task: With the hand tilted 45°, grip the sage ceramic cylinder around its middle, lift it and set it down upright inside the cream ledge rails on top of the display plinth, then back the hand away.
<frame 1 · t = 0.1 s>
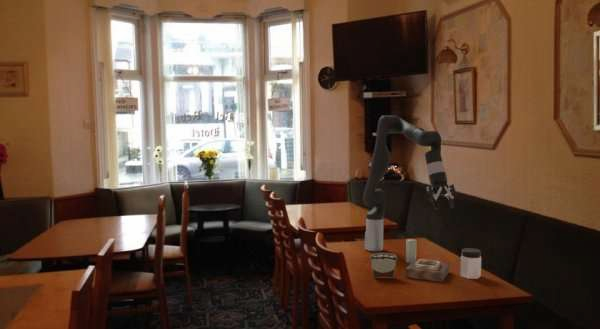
hand: (444, 208, 225), 31 cm above the table, tool tilted 20°, fingers open, 8 cm apart
display plinth: (427, 274, 233), on the table
food container: (383, 276, 231), on the table
jar: (470, 276, 230), on the table
sage cylinder: (411, 261, 254), on the table
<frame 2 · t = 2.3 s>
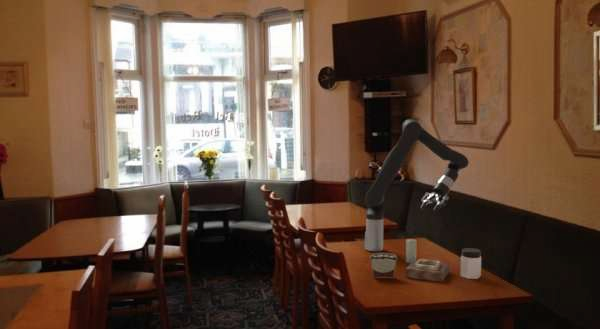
hand: (427, 210, 258), 25 cm above the table, tool tilted 45°, fingers open, 8 cm apart
nothing on the table moved.
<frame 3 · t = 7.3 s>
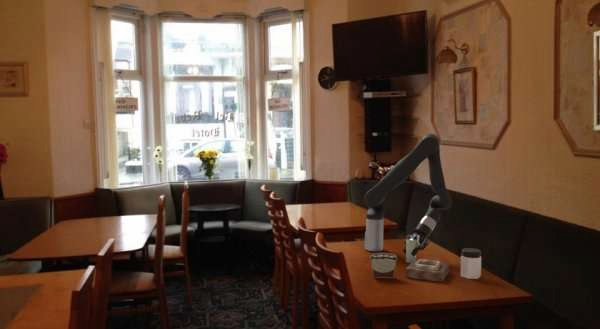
hand: (408, 253, 252), 4 cm above the table, tool tilted 45°, fingers closed on sage cylinder, 5 cm apart
sage cylinder: (411, 261, 254), on the table, touching gripper
everything else where it was.
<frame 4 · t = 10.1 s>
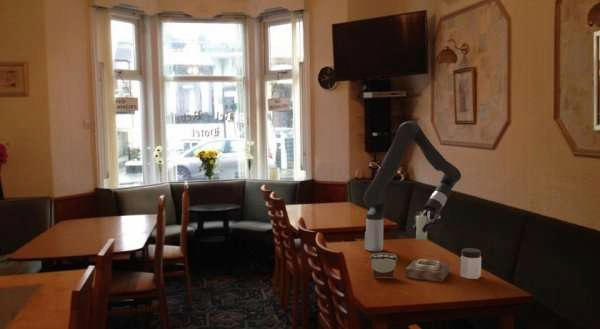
hand: (418, 230, 240), 19 cm above the table, tool tilted 45°, fingers closed on sage cylinder, 5 cm apart
sage cylinder: (421, 239, 242), point 14 cm above the table, touching gripper
everything else where it was.
when the fingers open (10 cm above the table, at t = 13.2 s): sage cylinder drops 1 cm, resting on display plinth.
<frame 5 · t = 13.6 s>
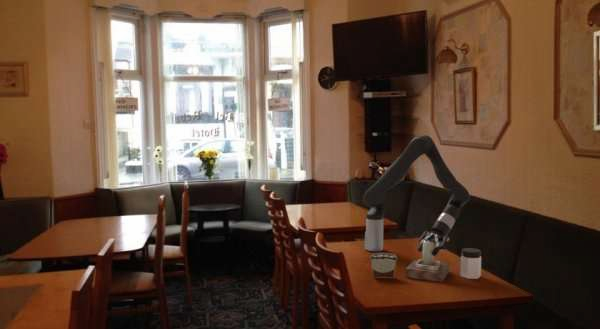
hand: (425, 252, 231), 10 cm above the table, tool tilted 45°, fingers open, 8 cm apart
sage cylinder: (427, 265, 232), point 4 cm above the table, touching display plinth
everything else where it was.
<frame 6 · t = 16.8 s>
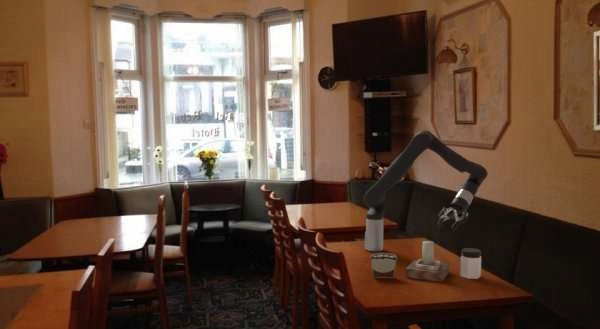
hand: (445, 227, 237), 20 cm above the table, tool tilted 45°, fingers open, 8 cm apart
nothing on the table moved.
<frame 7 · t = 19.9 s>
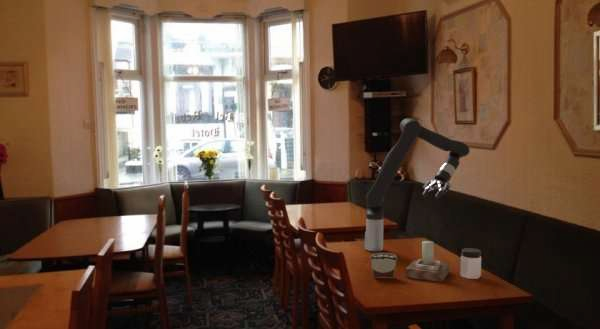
hand: (429, 197, 264), 31 cm above the table, tool tilted 45°, fingers open, 8 cm apart
nothing on the table moved.
at the end: sage cylinder 0.2 cm off-centre on the display plinth, point 4.0 cm above the display plinth's base; sage cylinder tilted 1°; the gripper is holding nothing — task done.
